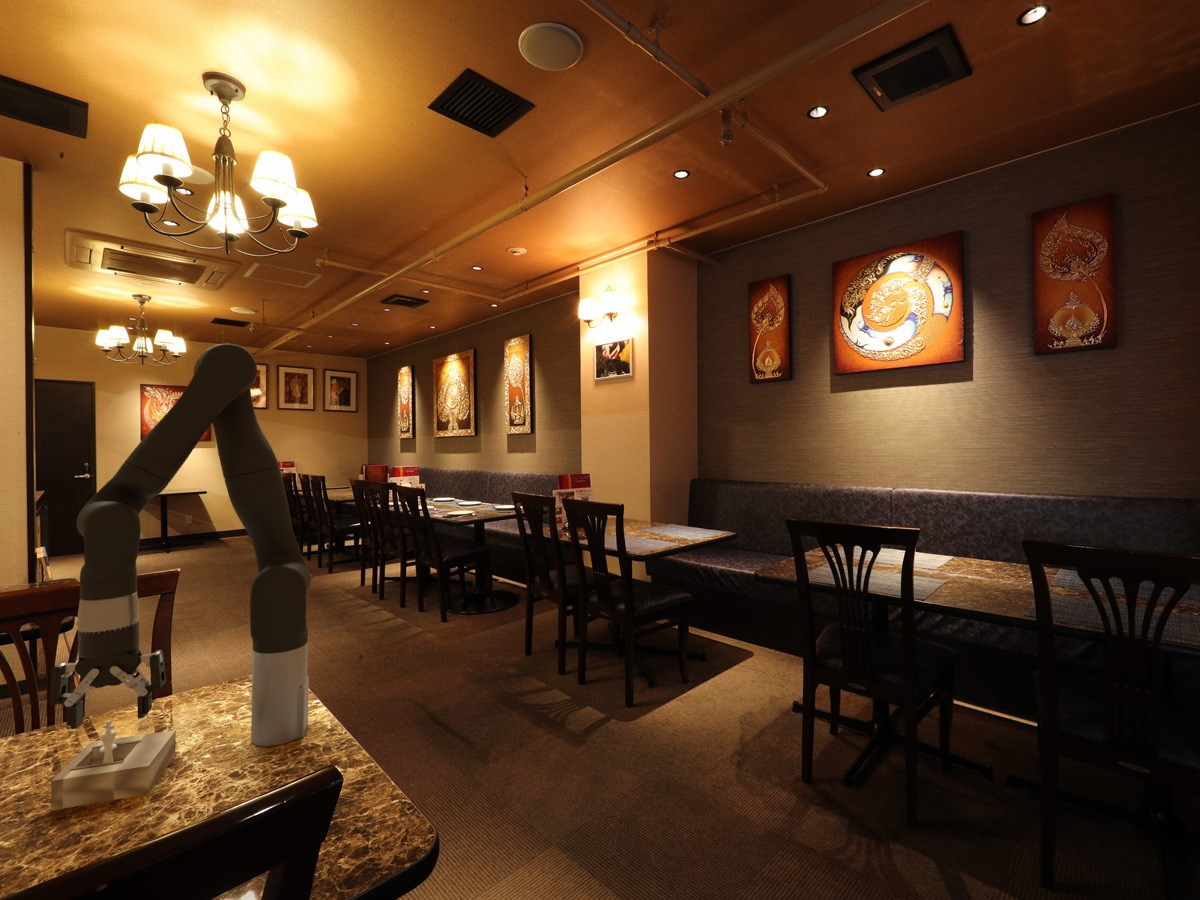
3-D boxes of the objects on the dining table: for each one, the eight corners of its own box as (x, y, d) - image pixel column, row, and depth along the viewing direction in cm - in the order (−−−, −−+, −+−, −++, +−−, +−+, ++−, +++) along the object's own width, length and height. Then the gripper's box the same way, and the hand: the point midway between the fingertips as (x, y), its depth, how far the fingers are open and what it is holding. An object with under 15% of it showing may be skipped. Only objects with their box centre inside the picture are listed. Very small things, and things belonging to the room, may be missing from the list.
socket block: (175, 755, 99) (175, 729, 99) (148, 794, 88) (148, 764, 88) (90, 767, 95) (91, 740, 95) (50, 810, 83) (51, 779, 83)
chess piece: (102, 793, 88) (103, 730, 88) (79, 788, 89) (80, 726, 89) (135, 775, 93) (136, 716, 93) (112, 771, 94) (113, 712, 94)
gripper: (170, 611, 97) (171, 704, 97) (65, 621, 91) (65, 719, 91) (154, 623, 90) (155, 723, 90) (39, 635, 84) (40, 741, 84)
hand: (110, 721), depth 90 cm, fingers open, 8 cm apart
